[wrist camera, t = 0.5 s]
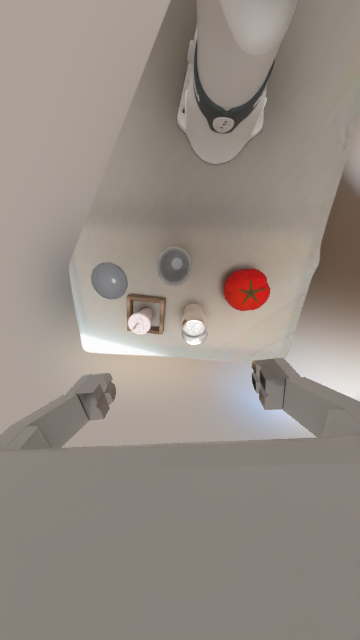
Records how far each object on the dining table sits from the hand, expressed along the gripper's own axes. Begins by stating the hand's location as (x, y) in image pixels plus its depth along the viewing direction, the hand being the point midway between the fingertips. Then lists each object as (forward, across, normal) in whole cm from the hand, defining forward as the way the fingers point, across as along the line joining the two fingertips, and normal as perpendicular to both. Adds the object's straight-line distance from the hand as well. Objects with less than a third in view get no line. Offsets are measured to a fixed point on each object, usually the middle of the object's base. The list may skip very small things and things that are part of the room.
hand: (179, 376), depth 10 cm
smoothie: (+44, +15, +9) cm, 48 cm away
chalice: (+44, +2, -5) cm, 45 cm away
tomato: (+44, -15, +4) cm, 47 cm away
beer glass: (+44, 0, +11) cm, 46 cm away
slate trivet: (+44, +24, -2) cm, 50 cm away
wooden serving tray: (+44, +15, +9) cm, 48 cm away
